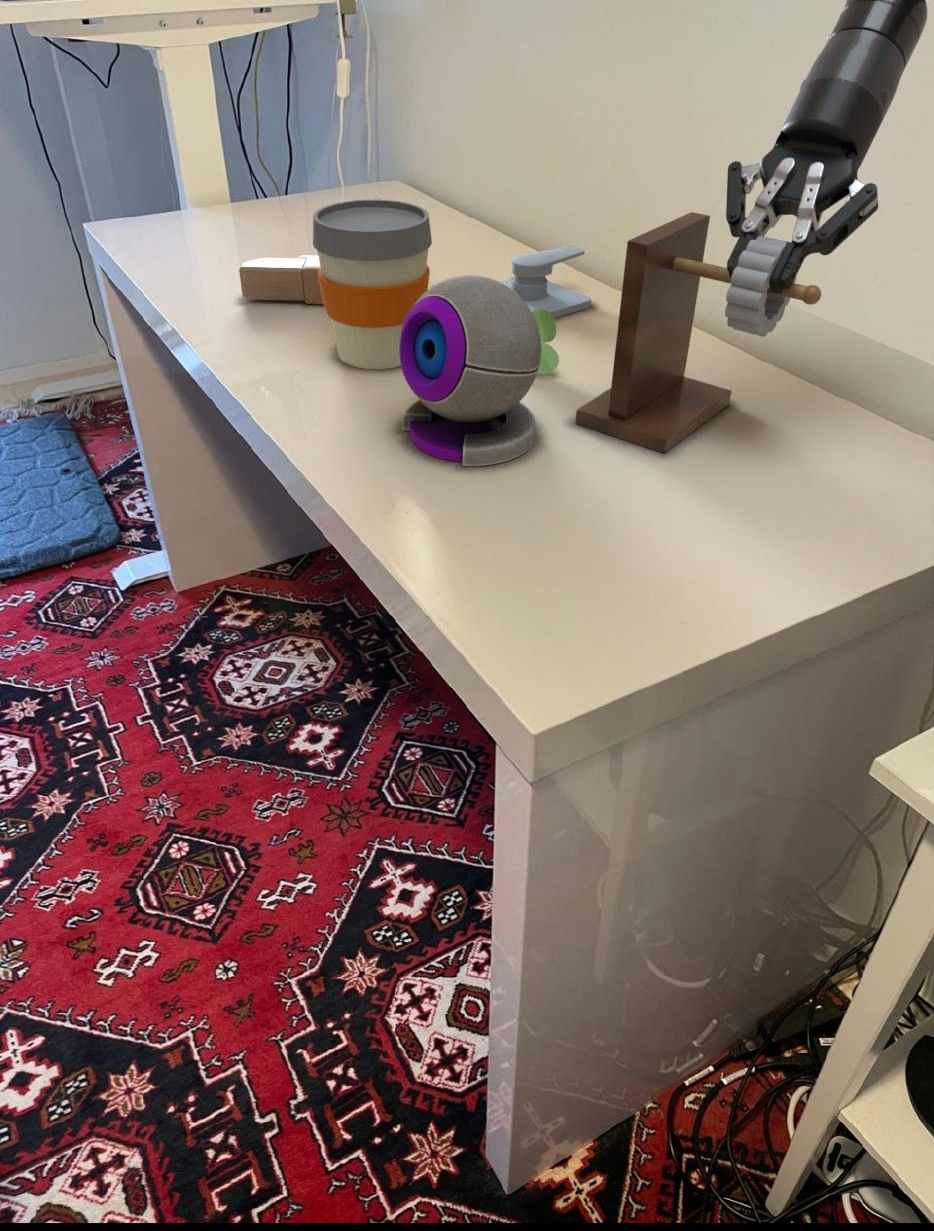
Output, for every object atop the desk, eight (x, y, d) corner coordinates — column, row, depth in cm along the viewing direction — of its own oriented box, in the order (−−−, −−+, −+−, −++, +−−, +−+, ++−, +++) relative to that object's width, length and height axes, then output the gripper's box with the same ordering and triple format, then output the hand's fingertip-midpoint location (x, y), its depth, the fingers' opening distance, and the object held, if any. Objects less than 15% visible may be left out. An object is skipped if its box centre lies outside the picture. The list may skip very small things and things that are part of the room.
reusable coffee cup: (451, 343, 111) (451, 207, 102) (400, 384, 102) (396, 239, 93) (357, 325, 115) (349, 193, 106) (300, 363, 106) (286, 222, 97)
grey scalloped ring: (786, 321, 88) (806, 233, 83) (749, 347, 83) (768, 255, 78) (756, 314, 90) (774, 227, 85) (718, 339, 84) (734, 248, 80)
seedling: (531, 399, 110) (527, 391, 104) (488, 346, 111) (481, 335, 104) (580, 358, 109) (579, 347, 103) (536, 304, 109) (532, 290, 103)
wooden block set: (382, 262, 116) (236, 258, 117) (384, 307, 120) (242, 304, 120) (396, 221, 130) (264, 218, 130) (397, 263, 133) (269, 260, 134)
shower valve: (613, 258, 119) (523, 282, 111) (608, 302, 122) (521, 328, 115) (545, 234, 127) (457, 255, 119) (543, 276, 130) (457, 299, 122)
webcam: (377, 428, 93) (370, 274, 84) (476, 393, 100) (479, 247, 91) (462, 480, 86) (464, 316, 76) (563, 439, 92) (576, 283, 83)
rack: (575, 423, 95) (591, 236, 84) (644, 378, 104) (668, 204, 93) (751, 483, 86) (795, 282, 75) (810, 428, 95) (858, 241, 84)
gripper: (924, 145, 82) (836, 324, 82) (770, 124, 89) (689, 289, 89) (923, 84, 76) (828, 278, 75) (758, 65, 82) (670, 243, 82)
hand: (753, 283), depth 82 cm, fingers closed on grey scalloped ring, 3 cm apart
